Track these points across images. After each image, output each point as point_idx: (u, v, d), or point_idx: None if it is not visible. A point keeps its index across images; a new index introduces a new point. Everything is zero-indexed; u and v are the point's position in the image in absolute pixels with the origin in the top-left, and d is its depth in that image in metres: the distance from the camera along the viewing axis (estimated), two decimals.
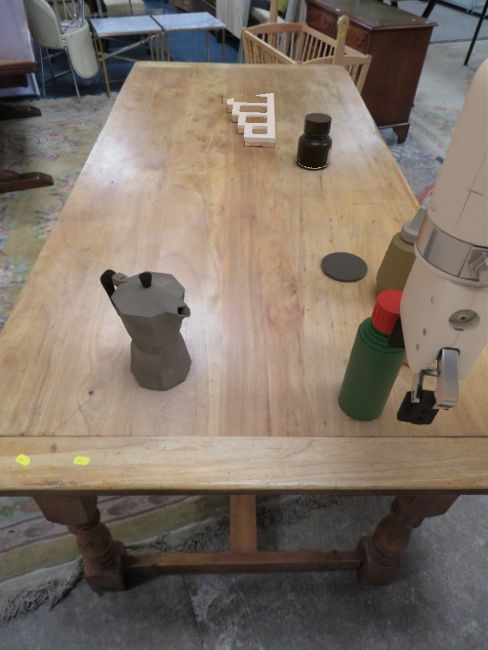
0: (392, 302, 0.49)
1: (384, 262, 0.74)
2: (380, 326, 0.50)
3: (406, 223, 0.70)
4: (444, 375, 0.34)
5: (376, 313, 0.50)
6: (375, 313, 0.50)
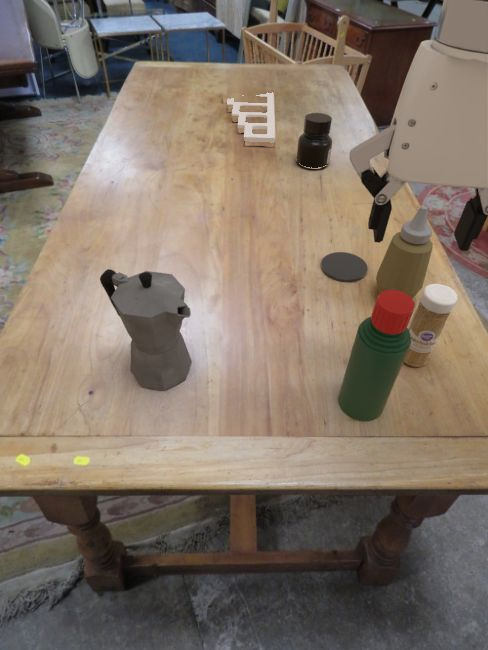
0: (392, 302, 0.49)
1: (384, 262, 0.74)
2: (380, 326, 0.50)
3: (406, 223, 0.70)
4: None
5: (376, 313, 0.50)
6: (375, 313, 0.50)
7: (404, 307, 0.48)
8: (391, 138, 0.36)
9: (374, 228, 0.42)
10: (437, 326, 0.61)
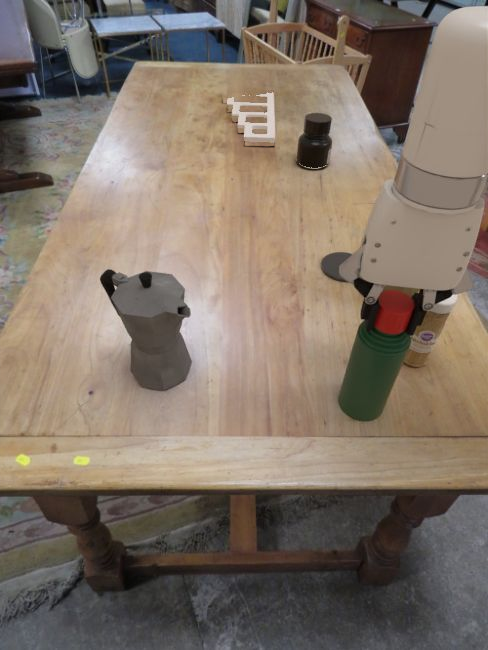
0: (392, 302, 0.49)
1: None
2: (380, 326, 0.50)
3: None
4: None
5: None
6: None
7: (404, 307, 0.48)
8: None
9: (365, 319, 0.51)
10: (437, 326, 0.61)
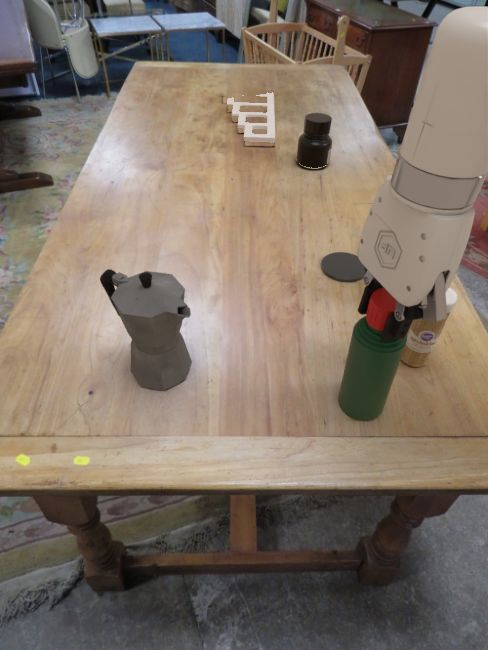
0: (393, 301, 0.49)
1: None
2: None
3: None
4: None
5: None
6: None
7: None
8: None
9: None
10: (437, 326, 0.61)
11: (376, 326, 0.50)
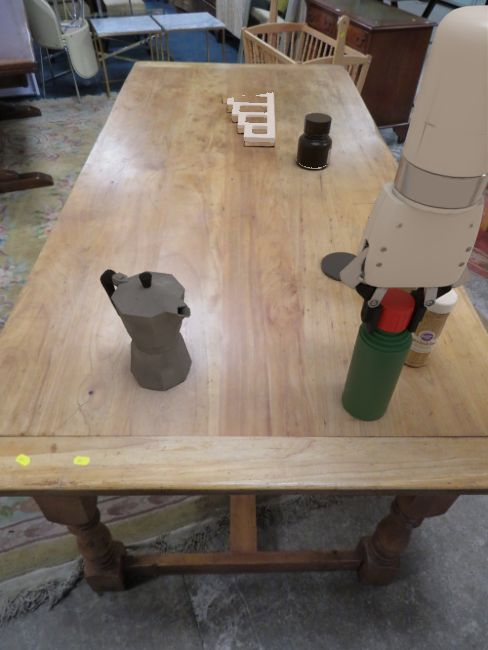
0: (400, 300, 0.49)
1: None
2: None
3: None
4: None
5: (410, 316, 0.49)
6: (410, 317, 0.49)
7: (396, 292, 0.50)
8: None
9: (367, 322, 0.50)
10: (437, 326, 0.61)
11: (385, 327, 0.50)
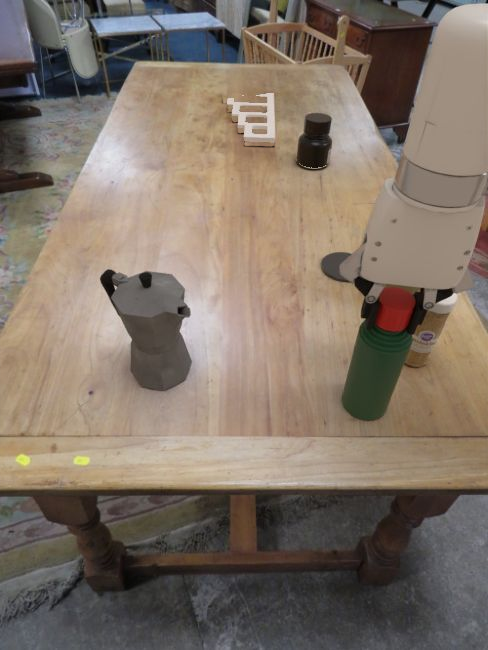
0: (396, 295, 0.49)
1: None
2: None
3: None
4: (469, 271, 0.44)
5: None
6: None
7: (386, 299, 0.49)
8: None
9: (365, 318, 0.51)
10: (437, 326, 0.61)
11: None
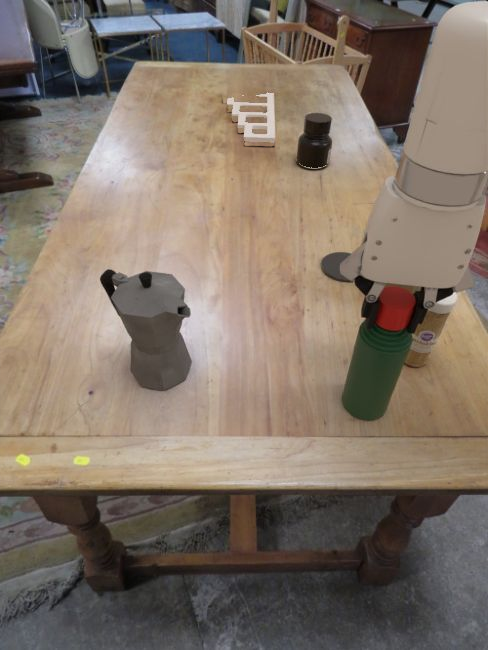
0: (393, 298, 0.49)
1: None
2: (382, 323, 0.50)
3: None
4: None
5: None
6: None
7: (405, 303, 0.48)
8: None
9: (366, 317, 0.50)
10: (437, 326, 0.61)
11: None
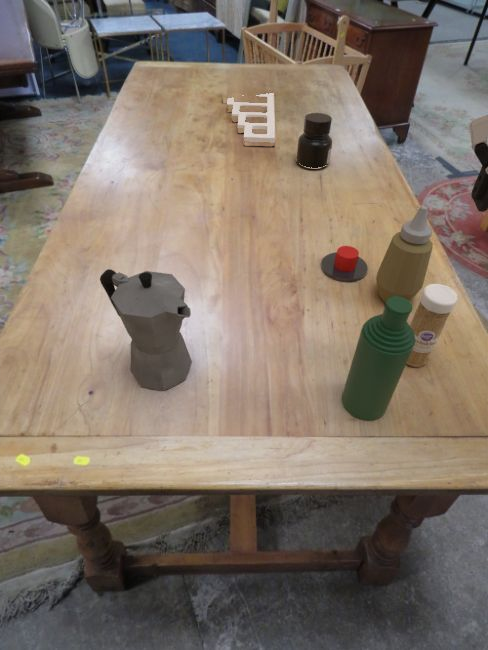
0: (350, 251, 0.83)
1: (384, 262, 0.74)
2: None
3: (406, 223, 0.70)
4: None
5: None
6: None
7: (343, 248, 0.83)
8: None
9: None
10: (437, 326, 0.61)
11: (350, 269, 0.83)
